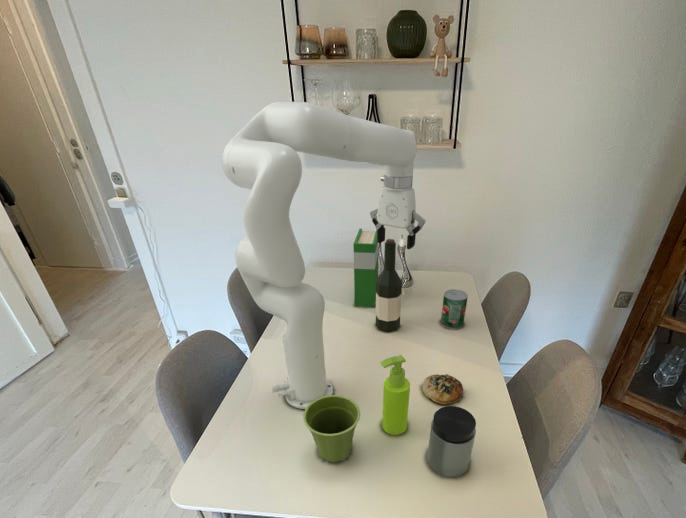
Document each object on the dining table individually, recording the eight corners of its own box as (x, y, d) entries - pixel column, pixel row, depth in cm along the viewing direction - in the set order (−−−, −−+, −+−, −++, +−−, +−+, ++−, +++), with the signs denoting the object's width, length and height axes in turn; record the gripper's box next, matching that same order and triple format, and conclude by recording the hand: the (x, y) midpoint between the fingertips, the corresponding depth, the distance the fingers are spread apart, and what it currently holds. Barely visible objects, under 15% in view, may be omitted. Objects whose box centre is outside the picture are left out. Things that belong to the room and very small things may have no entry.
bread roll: (468, 385, 104) (470, 372, 101) (454, 414, 97) (455, 401, 94) (430, 374, 109) (430, 361, 106) (414, 400, 102) (413, 387, 99)
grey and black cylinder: (438, 481, 79) (444, 441, 72) (420, 449, 86) (424, 410, 79) (476, 471, 81) (486, 430, 74) (456, 440, 88) (463, 401, 81)
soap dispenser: (374, 422, 93) (375, 355, 82) (399, 414, 95) (403, 348, 84) (385, 439, 88) (387, 370, 77) (411, 430, 91) (417, 362, 80)
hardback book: (360, 286, 158) (359, 228, 145) (378, 287, 158) (378, 229, 144) (354, 306, 143) (353, 243, 130) (374, 307, 143) (375, 244, 130)
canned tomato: (468, 326, 131) (472, 297, 125) (448, 330, 129) (452, 301, 123) (455, 315, 137) (459, 287, 131) (436, 320, 135) (439, 291, 129)
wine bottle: (400, 320, 134) (404, 236, 118) (399, 332, 128) (403, 245, 111) (376, 319, 135) (377, 235, 119) (374, 331, 128) (375, 244, 112)
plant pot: (297, 450, 86) (291, 413, 79) (337, 423, 93) (335, 387, 86) (331, 482, 79) (328, 444, 72) (372, 450, 86) (372, 413, 79)
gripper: (363, 181, 104) (363, 243, 113) (421, 188, 96) (416, 254, 105) (378, 177, 109) (377, 236, 118) (433, 183, 101) (427, 246, 110)
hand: (395, 244), depth 112 cm, fingers open, 9 cm apart
